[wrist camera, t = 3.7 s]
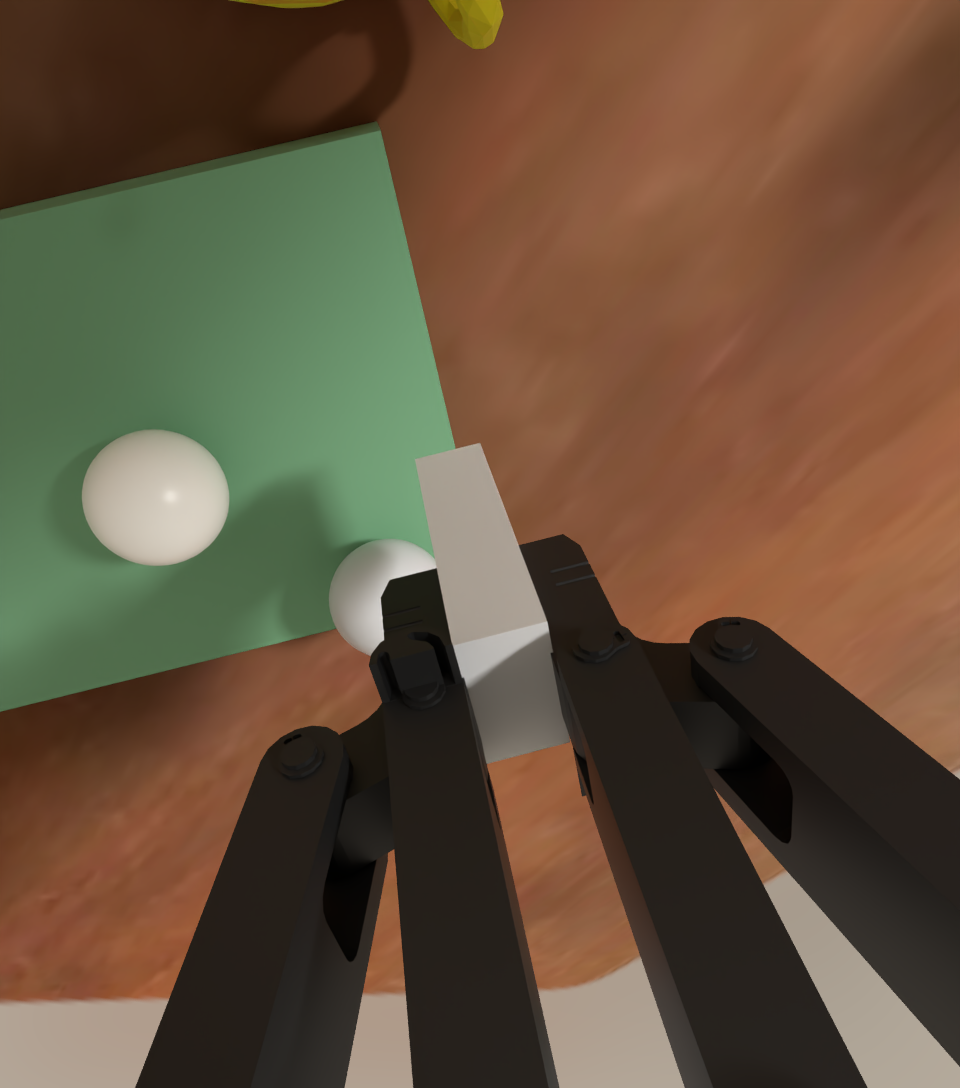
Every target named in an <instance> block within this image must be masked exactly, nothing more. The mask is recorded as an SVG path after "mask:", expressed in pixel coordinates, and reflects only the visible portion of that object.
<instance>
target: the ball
mask: <svg viewBox="0 0 960 1088" xmlns="http://www.w3.org/2000/svg"><path fill="white" fill-rule="evenodd" d="M82 504H83V510H84V514H85V517H86V520H87V522H88V524H89V526H90V528H91V530H92V532H93V533H94V535H95V536H96V537H97V538H98V540H99V541H100V542H101V543H102V544H103V545H104V546H105V547H107V548H108V549H109V550H110V551H112V552H113V553H115V554H116V555H118V556H120V557H122V558H124V559H126V560H128V561H131V562H134V563H138V564H142V565H150V566H164V565H172V564H177V563H180V562H183V561H186V560H188V559H190V558H192V557H194V556H196V555H198V554H199V553H201V552H202V551H203V550H204V549H206V548H207V547H208V546H209V545H210V544H211V543H212V542H213V541H214V540H215V539H216V537H217V536H218V534H219V533H220V531H221V530H222V528H223V525H224V523H225V521H226V518H227V514H228V509H229V490H228V484H227V480H226V477H225V475H224V473H223V471H222V469H221V467H220V465H219V463H218V462H217V460H216V459H215V458H214V457H213V455H212V454H211V453H210V452H209V451H208V450H207V449H205V448H204V447H203V446H202V445H200V444H199V443H198V442H196V441H194V440H193V439H191V438H189V437H187V436H184V435H182V434H179V433H176V432H172V431H167V430H157V429H150V430H141V431H136V432H132V433H129V434H126V435H124V436H121V437H119V438H117V439H116V440H114V441H112V442H111V443H109V444H108V445H107V446H106V447H104V448H103V449H102V450H101V451H100V452H99V453H98V455H97V456H96V457H95V458H94V460H93V461H92V463H91V464H90V466H89V468H88V470H87V473H86V475H85V478H84V482H83V487H82Z"/></svg>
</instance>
